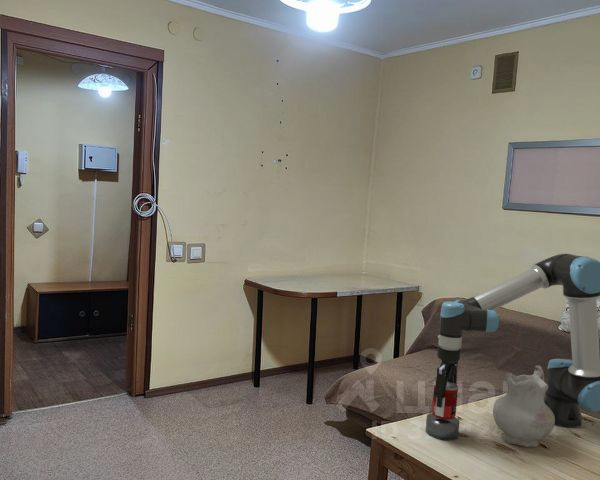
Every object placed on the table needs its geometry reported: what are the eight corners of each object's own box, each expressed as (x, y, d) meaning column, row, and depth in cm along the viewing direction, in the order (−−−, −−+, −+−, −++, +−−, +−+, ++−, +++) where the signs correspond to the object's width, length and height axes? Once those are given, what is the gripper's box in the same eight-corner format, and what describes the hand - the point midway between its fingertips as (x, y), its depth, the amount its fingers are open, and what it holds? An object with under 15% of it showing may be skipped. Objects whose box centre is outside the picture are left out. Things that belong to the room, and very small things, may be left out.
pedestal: (462, 432, 180) (464, 419, 180) (451, 443, 171) (452, 429, 171) (432, 423, 187) (433, 409, 186) (420, 433, 178) (421, 419, 178)
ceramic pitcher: (502, 423, 193) (503, 357, 192) (560, 436, 182) (561, 366, 181) (486, 444, 175) (486, 371, 174) (548, 459, 164) (549, 382, 163)
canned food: (456, 421, 174) (459, 389, 173) (432, 418, 176) (434, 386, 175) (454, 412, 182) (457, 382, 181) (431, 409, 183) (433, 379, 182)
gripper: (449, 339, 187) (444, 400, 189) (427, 350, 171) (421, 417, 173) (470, 344, 183) (464, 406, 185) (449, 356, 166) (443, 424, 168)
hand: (443, 411), depth 179 cm, fingers closed on canned food, 8 cm apart
